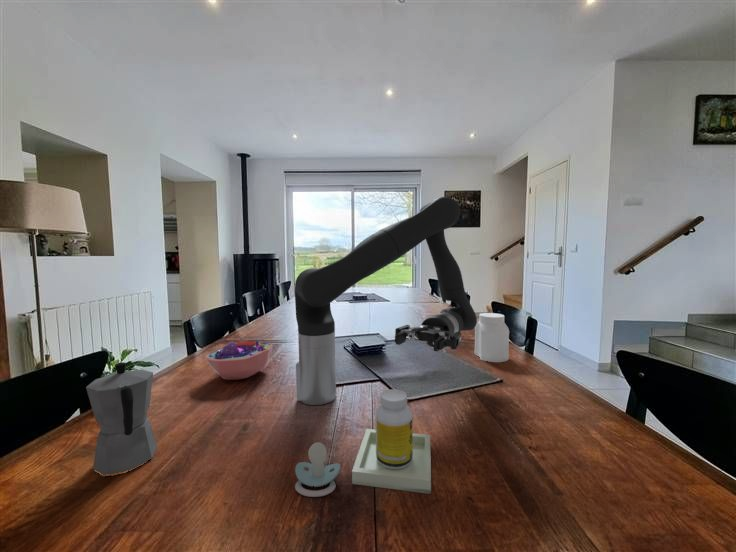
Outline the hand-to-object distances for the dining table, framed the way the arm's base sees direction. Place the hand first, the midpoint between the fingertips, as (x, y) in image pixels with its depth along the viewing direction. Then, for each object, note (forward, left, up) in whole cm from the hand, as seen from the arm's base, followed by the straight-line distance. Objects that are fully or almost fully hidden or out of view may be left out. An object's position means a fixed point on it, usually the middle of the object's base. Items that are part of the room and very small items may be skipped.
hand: (415, 343), depth 65 cm
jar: (+25, +50, -18) cm, 59 cm away
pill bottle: (-3, -12, -18) cm, 22 cm away
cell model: (-53, +20, -18) cm, 60 cm away
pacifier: (-15, -19, -18) cm, 31 cm away
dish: (-3, -12, -18) cm, 22 cm away
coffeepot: (-50, -20, -18) cm, 57 cm away
